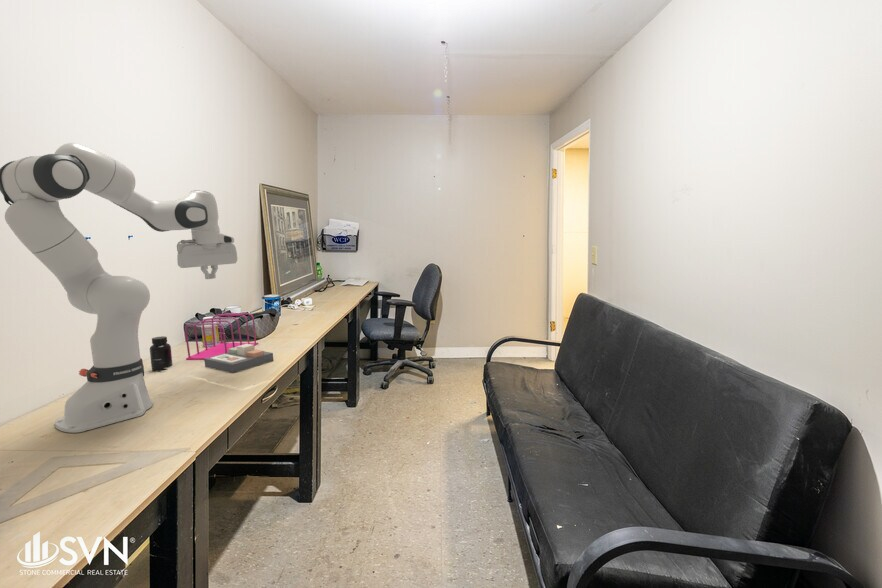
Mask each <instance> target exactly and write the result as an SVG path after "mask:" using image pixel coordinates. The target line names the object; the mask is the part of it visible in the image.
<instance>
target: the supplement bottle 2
mask: <svg viewBox="0 0 882 588" xmlns="http://www.w3.org/2000/svg"><path fill="white" fill-rule="evenodd" d="M207 318H213V316H205V317H203V318H202V321H203V320H205V319H207ZM206 321H212V319H210V320H206ZM213 321H215V319H213ZM204 323H212V322H204ZM213 323H217V322H213ZM200 327H201V336H202V345H203V347H205V341H204V335H203V327H202V325H200ZM204 329H205V336H206V343H207V348H210V347H212V346H214V344H213V333H212V325H204ZM214 336H215V345H217V344H219V343H221V341H220V332H219V325H214Z"/></svg>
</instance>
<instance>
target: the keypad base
mask: <svg viewBox="0 0 882 588" xmlns="http://www.w3.org/2000/svg"><path fill="white" fill-rule="evenodd" d="M263 351H264V355H263V356H259V357H256V358H251V357H246V356H240V355H237V354H230V353H229V352H228V353H224V354H220V355H217V356H213V357H209V358H205V359H204V360H203V362H204V367H206V368H207V369H209V368H210V369H214V370H217V371H222V372H227V373H231V374H235V373H238V372H241V371H244V370H248V369H250V368H255V367H257V366H261V365H265V364H267V363H270V362H274V352H270V351H265V350H263Z"/></svg>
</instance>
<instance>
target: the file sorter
mask: <svg viewBox="0 0 882 588" xmlns="http://www.w3.org/2000/svg"><path fill="white" fill-rule="evenodd" d="M246 315H248V316H250V317H251V318H252V327H253V328H252V329H253V340H254V342H250V332H249V321H248V317H247V316H246ZM212 317H213V318H207V319H205V320H203V319H202V320H200V321H199V320H198V321H196V322H195V323H190V324H188V325H186V327H185V329H184V334H185V335H184V336H185V341H186V348H187V356H188V357H185V359H186V361H204V359H205V358H209V357H213V356H217V355H220V354H224V353H228V349H230V348H234V347H237V346H240V345H244V344H251V345H254V347H255V346H257V345H259V342H257V340H256V339H257V337H256V326H255V324H256V323H255V317H254V316H253V314H251V313H249V312H247V313H246V312H242V313H241V312H238V313H237V312H236V313H234V312H231V313H230V312H229V313H227V312H226V313H221V314H215V315H213V316H212ZM236 317H243V318H244V319H245V322H246V335H247V337H246V338H247V342H242V341H243V340H242V335H241V334H242V333H241V328H240V322H239V319H238V318H236ZM210 319H212V321H206V320H210ZM213 319H214V321H213ZM223 319H228V320H223ZM229 319H233V320H235V321H236V323H237V329H238V336H239V337H238V338H239V342H235V337H234V330H233V329H234V328H233V325H232V322H231V321H229ZM204 322H212V323H204ZM213 322H216V323H213ZM223 322H225V323H228V324H229V326H230V333H231V340H232V342H226V341H227V339H226V333H225V328H224V326H223V325H222V324H221V323H223ZM201 325H202V327H203V335H204V341H205V346H204V347H205V348H204V350H203V349H202V350H201V351H200V349H199V342H198V334H197V326H201ZM204 325H212V333H213V344H214V346H212V347H207V343H206V336H205V329H204ZM214 325H218V328H219V338H220V343H219V344H217V345H215V336H214ZM191 326H193V330H194V337H195V345H196V352H197V353H194V354H192V355H191V352H190V344H189V338H188V328H189V327H191Z"/></svg>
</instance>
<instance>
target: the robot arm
mask: <svg viewBox="0 0 882 588" xmlns="http://www.w3.org/2000/svg"><path fill="white" fill-rule="evenodd" d="M135 187H136V177H135V175H134V173H133V171H132V170H131V169H130V168H129V167H128V166H126V165H124V164H123V163H121V162H120V161H119V160H116V159H114V158H113V157H111V156H109V155H106V154H105V153H103V152H100V151H98V150H95V149H93V148H91V147H88V146H86V145H83V144H79V143H76V142H68V143H64V144H62V145H61V146H59V147H58V148H57V149H56V150H55V152H54V153H48V154H43V155H34V156H33V155H32V156H31V155H30V156H25V157H23V158H20V159H17V160H12V161H9V162H7V163H5V164H4V165H2V166H1V167H0V193H1V194H2V195H3V199H4V201H5V203H6V204H7V205H9V206H8V207H7V209H6V210H5V212H4V220H5V222H6V224H7V225H8V227H9V228H10V229H11V231H12V232H13V234H14V235H15V236H16V237H17V239H18V240H19V241H20V242H21V243H22V245H23V246H25V248H26V249H27V250H29V252H30V253H31V254H33V255H34V257H36V259H38V260H39V261H40V263H42V264H43V265H44V266H45V267H46V268H47V269H48V270H49V271H50V272H51V273H52V274H53V275H54V276H55V277H56V279H57V280H58V281H59V283H60V285H61V286H62V287H63V288H64V290H65V292H66V294H67V295H66V296H67V299H68V302H69V303H70V304H71V306H73V307H74V308H75V309H76V310H78V311H81V312H84V313H87V314H90V315H91V314H93V315H97V322H96V327H95V331H94V333H93V334H92V335H91V337H90V341H89V343H90V350H91V356H92V357H91V358H92V363H93V365H92V366H91V368H90V369H86V368H81V369H80V370H79V371H78V375H79V376H81V377H86V380H87V381H86V382H84V384H83V385H82V386H81V387H80V388H78V389H77V390H76V391H75V392H74V393H73V394H72V395H71V396H70V397H68V398H67V400H66V401H65V405H64V413H63V414H64V416H62V417H59V418H58V419H56V420H55V421H54V427H55V428H56V429H57V430H59V431H61V432H64V433H73V434H74V433H82V432H86V431H90V430H94V429H97V428H101V427H104V426H109V425H111V424H115V423H120V422H122V421H123V422H124V421H126V420H130V419H134V418H137V417H141V416H143V415H144V414H145V412H146V411H147V410H149V409H150V408H151V407H153V401H152V399H151V396H150V394H149V392H148V388H147V385H146V382H145V367H144V363H143V361H144V360H143V359H142V358H141V352H140V342H139V328H140V327H139V326H140V320H141V317H142V313H143V312H144V310H145V309H146V308H147V306H148V305H149V303H150V299H151V294H150V289H149V287H148V286H147V284H146V283H145V282H143V281H141V280H139V279H136V278H133V277H130V276H126V275H112V274H110V273H108V272H107V271H105V269H104V268H103V266H102V264H101V262H100V260H99V259H98V258H99V252H98V250H97V249H96V247H94V245H92V244H91V243H90V241H89V240H88V239H87V238H86V237H85V236H84V235H83V234H82V232H80V231H79V229H78V228H77V227H76V226H75V225H74V224H73V223H72V222H71V221H70V220H69V219H68V218H67V217H66V216H65V215H64V214H63V211H62V210H61V207H60V204H59V201H61V200H67V199H71V198H74V197H76V196H78V195H79V194H80V193H81V192H82V191H83V190H85V191H87V192H90V193H91V194H94V195H95V196H98V197H101V198H103V199H105V200H107V201H109V202H111V203H113V204H114V205H116V206H118V207H120V208H121V209H123V210H125V211H127V212H129V213H131V214H133V215H135V216H137V217H138V218H140V219H141V220H142V221H143V222H144V223H145V224H146V225H148V226H149V228H151V229H152V230H153V231H156V232H160V233H161V232H169V231H170V232H171V231H183V230H185V231H186V230H191V231H190V233H191V239H181V240H180V241H178V242H177V244H176V251H177V254H176V255H177V258H176V260H177V261H176V262H177V266H178V267H179V269H190V268H198V267H200V271H201V272H202V273H203V275H204V279H205V280H212V279H216V278H217V275H216V273H217V271H218V269H219V266H223V265H232V264H236V263H237V261H238V253H237V247H236V246H235V244H234V243H235V238H234V236H231V235H226V234H223V233H221V230H220V227H219V222H218V221H219V211H218V205H217V201H216V196H215V195H214V194H213V193H211V192H209V191H206V190H197V189H196V190H191V191H189V192H188V194H187V195H185V196H184V197H182V198H179V199H178V200H177V199H174V200H150V199H149V198H147V197H145V196H144V195H143V194H141V193H138V192H137V191H135ZM209 266H210V269H211V272H209V271H208V269H209Z"/></svg>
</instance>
